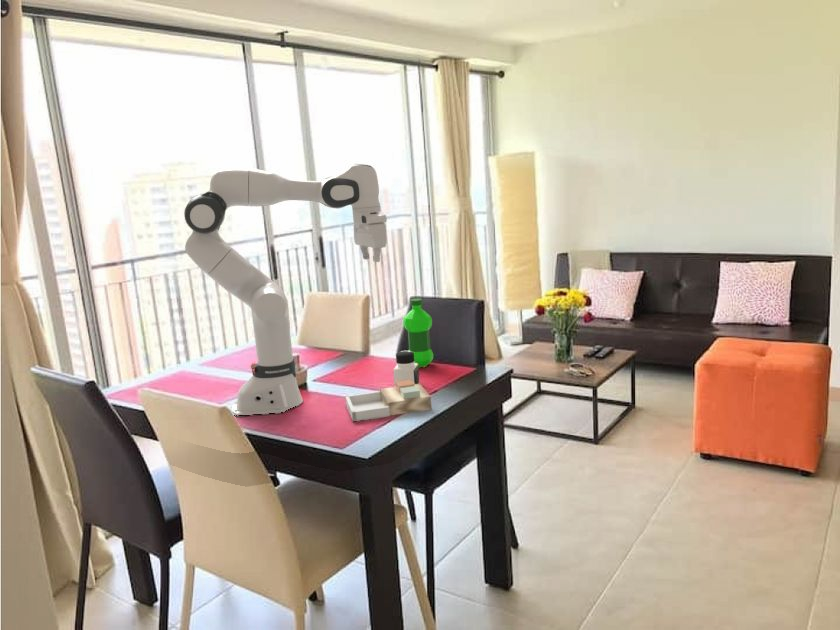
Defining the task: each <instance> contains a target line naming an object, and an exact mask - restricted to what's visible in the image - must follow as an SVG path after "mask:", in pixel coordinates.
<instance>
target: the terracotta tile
mask: <svg viewBox="0 0 840 630" xmlns="http://www.w3.org/2000/svg"><path fill="white" fill-rule="evenodd" d="M412 386H415V384H414V383H413V382H412V380H405V381H397V382H396V388H397V390H398V391H399V392H400V388H405V387H412Z"/></svg>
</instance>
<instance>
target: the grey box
mask: <svg viewBox="0 0 840 630" xmlns="http://www.w3.org/2000/svg"><path fill="white" fill-rule="evenodd" d="M344 397H345V398H344V399H345V406H346V409H347V410H348V414H349V416H350V415H351V416H350V418H351V421H352V420H353V421H357V422H361V421H360V420H364V421H370V420H369V419H371V420H376V419H383V418H389V417H391V415H390V412H389V406H384V404H383V403H382V401H381V395H380V390H377V391H371V392H363V393H357V394H348V395H345V396H344ZM353 421H352V422H353Z"/></svg>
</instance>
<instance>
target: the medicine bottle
mask: <svg viewBox="0 0 840 630" xmlns="http://www.w3.org/2000/svg"><path fill="white" fill-rule="evenodd" d="M395 362H396V365H395V367H394V368H393V369H392V371H393V382H394V385H393V387H396V382H397V381H405V380H412V382H413V383H414V384H420V368H418V363H415V362H414V353H413V352H411V351H408V350H401V351H398V352H397V353H396V354H395Z"/></svg>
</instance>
